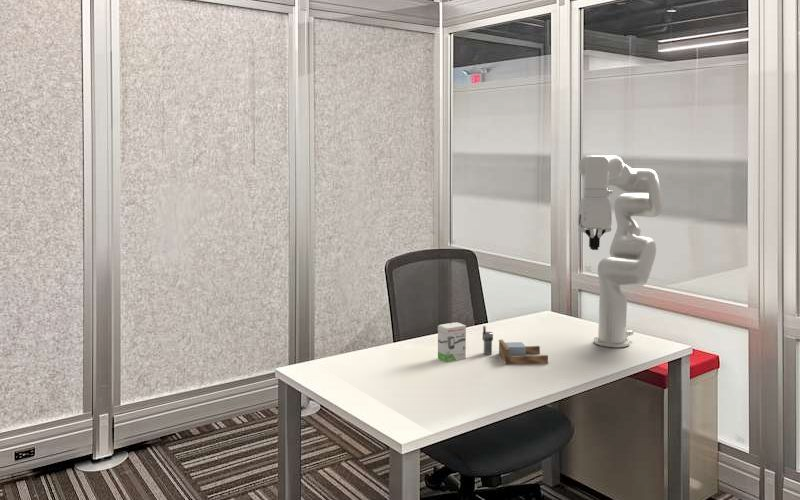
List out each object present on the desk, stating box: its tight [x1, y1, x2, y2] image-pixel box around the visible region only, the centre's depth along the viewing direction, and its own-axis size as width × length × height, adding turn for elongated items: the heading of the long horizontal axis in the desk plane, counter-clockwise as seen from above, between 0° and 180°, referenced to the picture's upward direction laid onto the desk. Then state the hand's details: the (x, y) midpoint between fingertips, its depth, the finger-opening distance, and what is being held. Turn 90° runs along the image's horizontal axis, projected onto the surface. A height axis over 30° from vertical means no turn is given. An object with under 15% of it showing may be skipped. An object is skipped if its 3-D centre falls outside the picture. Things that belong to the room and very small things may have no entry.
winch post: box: [482, 325, 494, 356], centre depth 232 cm, size 4×4×10 cm
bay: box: [498, 339, 549, 365], centre depth 226 cm, size 14×12×5 cm
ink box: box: [437, 321, 467, 363], centre depth 226 cm, size 9×5×12 cm, turn 120°
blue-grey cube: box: [505, 341, 527, 356], centre depth 226 cm, size 6×6×5 cm
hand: (594, 249), depth 222 cm, fingers closed
